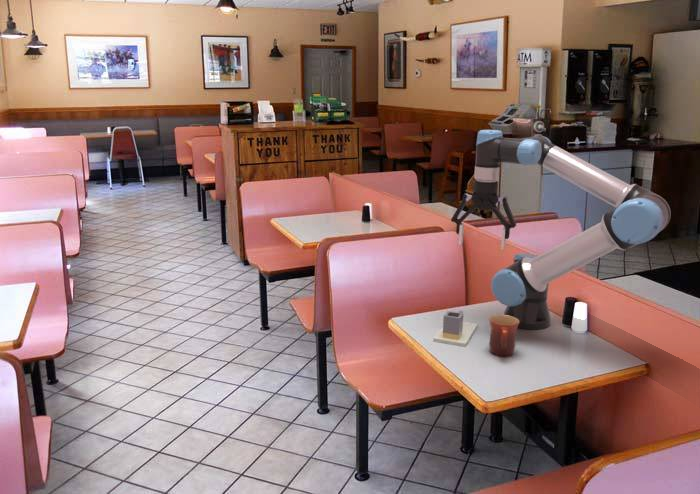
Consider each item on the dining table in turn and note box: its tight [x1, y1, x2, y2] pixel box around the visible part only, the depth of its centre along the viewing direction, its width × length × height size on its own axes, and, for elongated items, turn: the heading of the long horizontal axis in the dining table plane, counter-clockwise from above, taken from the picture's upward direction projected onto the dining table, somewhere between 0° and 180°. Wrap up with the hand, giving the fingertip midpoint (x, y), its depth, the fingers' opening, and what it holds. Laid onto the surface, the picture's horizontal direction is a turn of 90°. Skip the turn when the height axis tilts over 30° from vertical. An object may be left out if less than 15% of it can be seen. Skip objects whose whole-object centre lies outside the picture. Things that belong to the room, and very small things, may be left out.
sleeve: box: [442, 310, 464, 340], centre depth 197 cm, size 5×5×7 cm
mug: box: [488, 314, 520, 357], centre depth 186 cm, size 12×9×10 cm
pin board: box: [432, 310, 479, 348], centre depth 201 cm, size 10×18×6 cm, turn 157°
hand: (481, 246), depth 203 cm, fingers open, 13 cm apart
